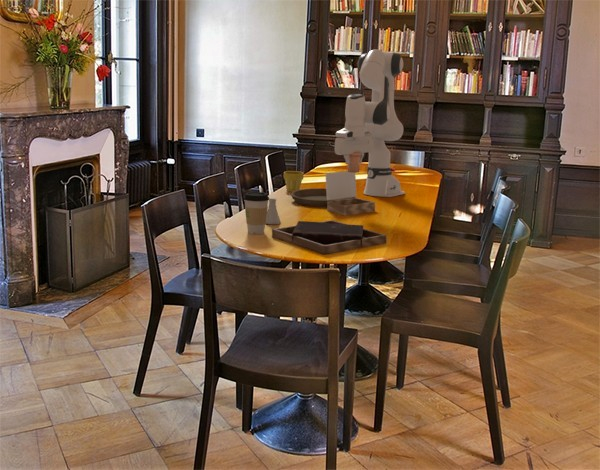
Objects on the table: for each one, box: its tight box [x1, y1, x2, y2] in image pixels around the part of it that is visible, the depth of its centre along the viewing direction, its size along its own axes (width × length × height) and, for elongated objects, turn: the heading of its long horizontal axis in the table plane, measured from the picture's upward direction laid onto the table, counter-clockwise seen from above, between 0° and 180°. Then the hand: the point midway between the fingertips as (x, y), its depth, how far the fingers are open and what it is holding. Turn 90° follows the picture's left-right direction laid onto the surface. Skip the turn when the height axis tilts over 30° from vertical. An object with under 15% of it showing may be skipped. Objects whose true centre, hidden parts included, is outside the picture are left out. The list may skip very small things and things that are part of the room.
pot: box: [347, 152, 361, 174], centre depth 294 cm, size 6×6×9 cm
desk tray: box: [271, 219, 388, 256], centre depth 247 cm, size 30×30×3 cm
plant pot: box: [283, 170, 304, 193], centre depth 347 cm, size 10×10×10 cm
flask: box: [265, 198, 282, 226], centre depth 271 cm, size 7×7×10 cm
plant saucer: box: [290, 187, 356, 208], centre depth 320 cm, size 31×31×5 cm
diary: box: [292, 220, 364, 247], centre depth 247 cm, size 19×25×5 cm
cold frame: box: [326, 197, 376, 216], centre depth 299 cm, size 18×15×12 cm
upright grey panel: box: [325, 170, 358, 200], centre depth 302 cm, size 18×12×1 cm
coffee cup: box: [242, 191, 270, 235], centre depth 254 cm, size 10×10×15 cm
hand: (353, 163), depth 295 cm, fingers closed on pot, 5 cm apart
